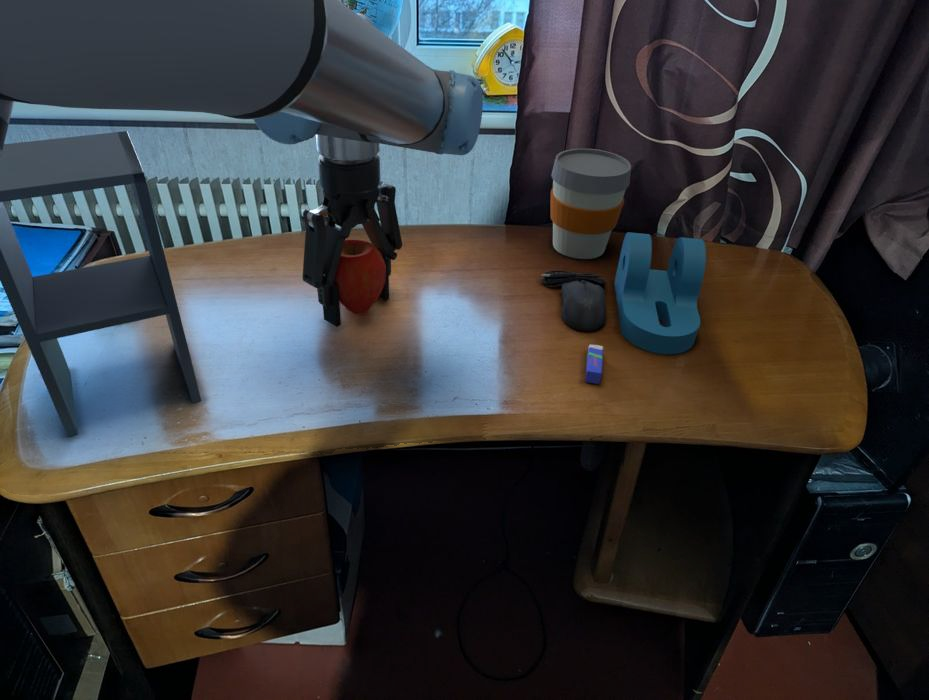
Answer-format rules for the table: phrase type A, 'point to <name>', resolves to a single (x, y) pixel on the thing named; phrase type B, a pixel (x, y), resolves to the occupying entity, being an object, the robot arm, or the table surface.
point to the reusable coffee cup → (586, 200)
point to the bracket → (659, 294)
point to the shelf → (90, 288)
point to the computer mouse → (580, 298)
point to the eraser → (594, 364)
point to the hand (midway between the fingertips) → (357, 309)
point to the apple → (360, 275)
